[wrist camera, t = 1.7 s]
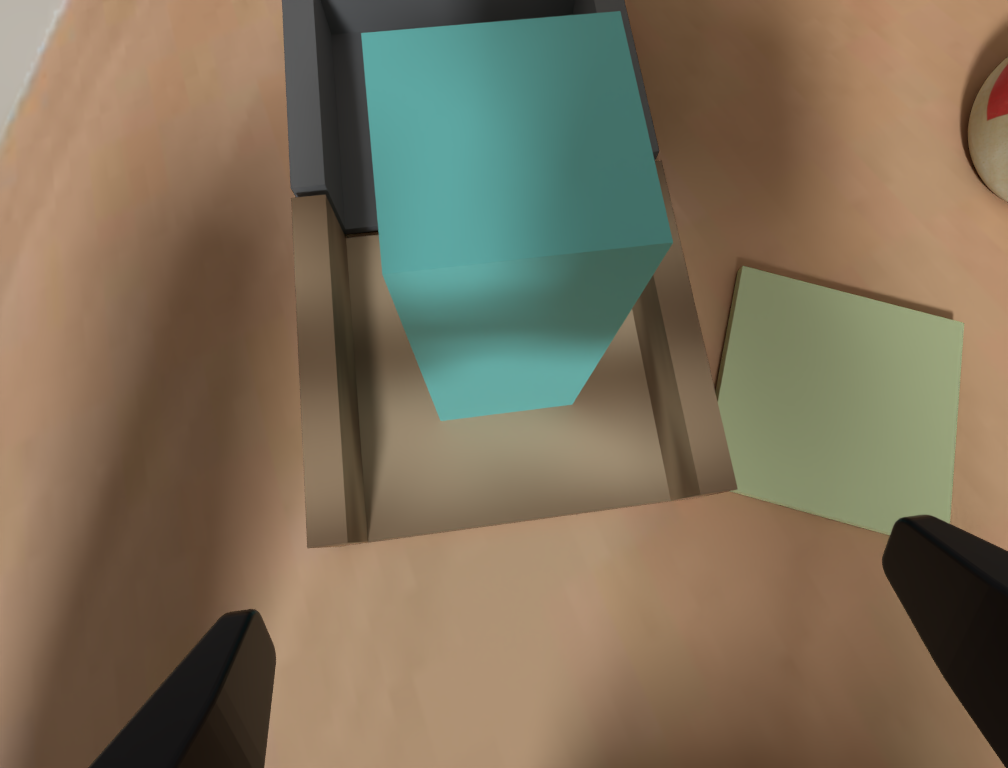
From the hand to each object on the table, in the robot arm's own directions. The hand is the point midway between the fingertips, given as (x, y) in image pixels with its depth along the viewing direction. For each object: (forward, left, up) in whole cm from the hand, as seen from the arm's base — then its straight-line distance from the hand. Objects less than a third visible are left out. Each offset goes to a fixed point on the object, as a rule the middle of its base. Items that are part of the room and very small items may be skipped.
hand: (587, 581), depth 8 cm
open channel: (+5, +5, -13) cm, 15 cm away
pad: (+12, -6, -13) cm, 19 cm away
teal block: (+5, +6, -13) cm, 15 cm away
